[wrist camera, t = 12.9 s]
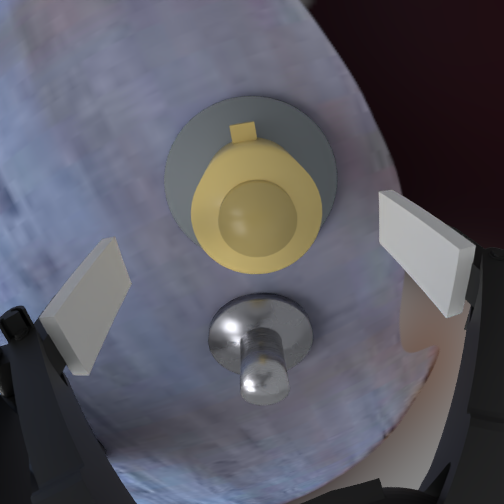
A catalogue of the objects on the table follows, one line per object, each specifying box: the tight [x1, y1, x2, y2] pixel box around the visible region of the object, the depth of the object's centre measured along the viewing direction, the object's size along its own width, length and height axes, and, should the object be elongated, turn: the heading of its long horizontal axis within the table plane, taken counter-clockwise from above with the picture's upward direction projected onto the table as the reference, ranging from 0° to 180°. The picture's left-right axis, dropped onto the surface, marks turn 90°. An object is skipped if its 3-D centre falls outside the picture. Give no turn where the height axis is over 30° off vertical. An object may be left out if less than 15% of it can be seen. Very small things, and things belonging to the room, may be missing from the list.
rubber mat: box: [164, 96, 337, 249], centre depth 23 cm, size 13×13×1 cm
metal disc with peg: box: [208, 293, 313, 405], centre depth 27 cm, size 10×10×7 cm
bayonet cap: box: [191, 121, 322, 274], centre depth 19 cm, size 7×9×8 cm
